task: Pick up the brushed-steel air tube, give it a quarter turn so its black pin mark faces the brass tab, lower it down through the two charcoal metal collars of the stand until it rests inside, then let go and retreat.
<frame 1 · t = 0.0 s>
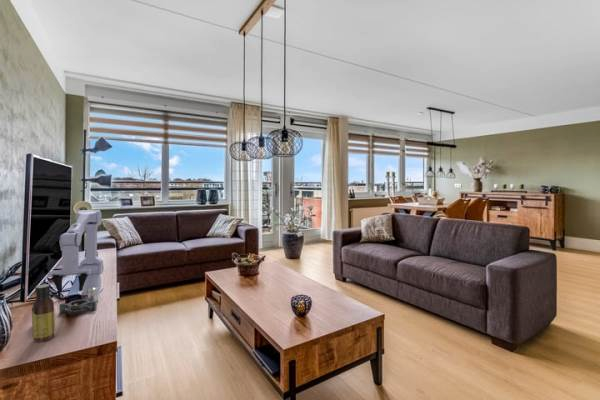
hand: (70, 291, 132), 10 cm above the tv stand, tool pointing down, fingers open, 7 cm apart
sauce bottle: (43, 339, 111), on the tv stand
air tube: (93, 302, 146), on the tv stand
collar stand: (78, 311, 136), on the tv stand
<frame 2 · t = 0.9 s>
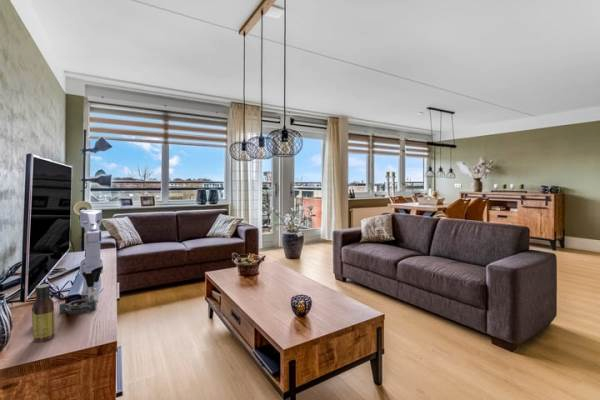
hand: (93, 284, 145), 9 cm above the tv stand, tool pointing down, fingers open, 7 cm apart
nothing on the tv stand moved.
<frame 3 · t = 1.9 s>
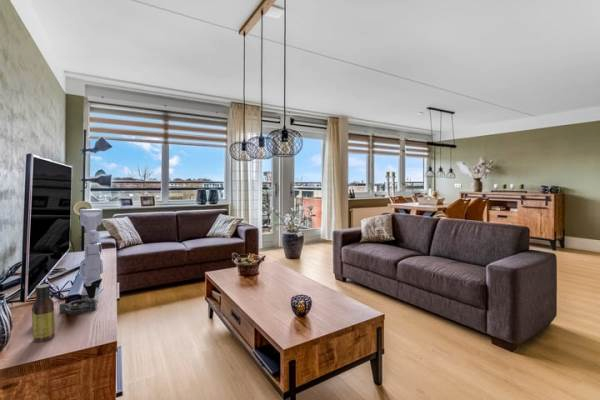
hand: (93, 296, 145), 3 cm above the tv stand, tool pointing down, fingers closed on air tube, 4 cm apart
air tube: (93, 302, 146), on the tv stand, touching gripper
everything else where it was.
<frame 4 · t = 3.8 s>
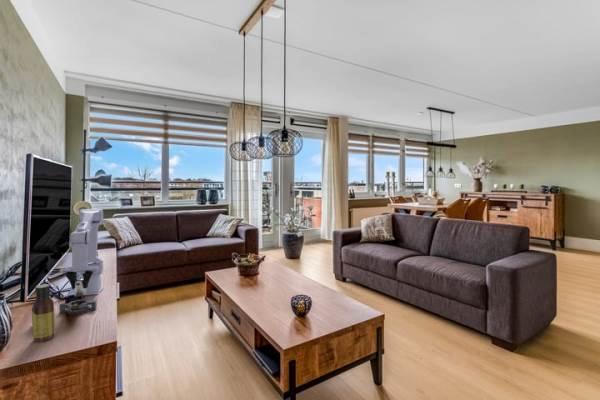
hand: (79, 288, 136), 10 cm above the tv stand, tool pointing down, fingers closed on air tube, 4 cm apart
air tube: (80, 294, 136), point 7 cm above the tv stand, touching gripper
everything else where it was.
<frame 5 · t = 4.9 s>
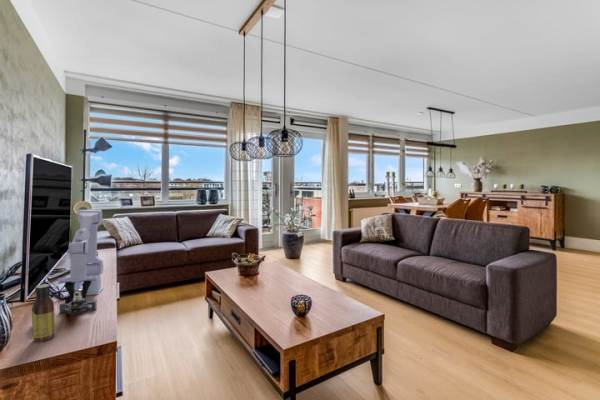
hand: (78, 298, 135), 6 cm above the tv stand, tool pointing down, fingers closed on air tube, 4 cm apart
air tube: (78, 305, 136), point 3 cm above the tv stand, touching gripper
everything else where it was.
when the fingers open (4 cm above the tv stand, at t = 5.7 s): air tube drops 1 cm, resting in collar stand.
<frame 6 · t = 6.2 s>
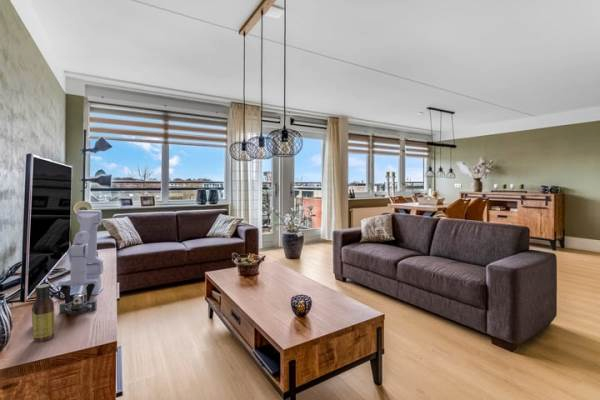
hand: (78, 301, 135), 4 cm above the tv stand, tool pointing down, fingers open, 7 cm apart
air tube: (78, 311, 136), resting in collar stand
everything else where it was.
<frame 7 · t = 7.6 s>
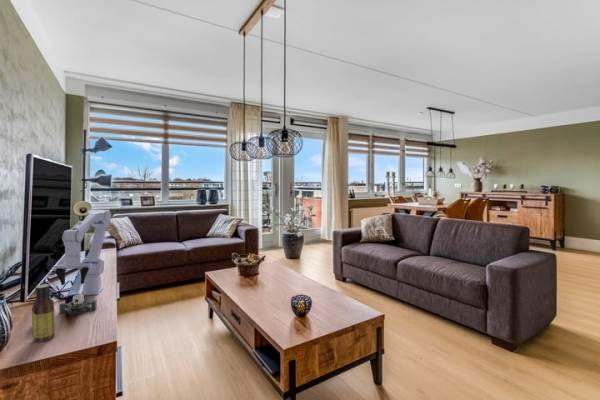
hand: (72, 283, 142), 10 cm above the tv stand, tool pointing down, fingers open, 7 cm apart
nothing on the tv stand moved.
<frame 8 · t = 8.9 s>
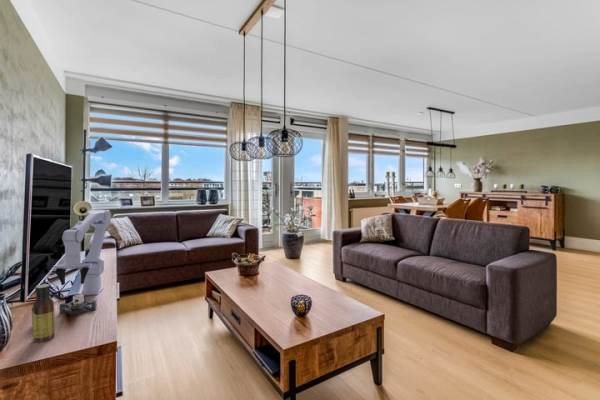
hand: (72, 283, 142), 10 cm above the tv stand, tool pointing down, fingers open, 7 cm apart
nothing on the tv stand moved.
at the end: air tube 0.0 cm off-centre on the collar stand, point 0.0 cm above the collar stand's base; air tube tilted 0°; the gripper is holding nothing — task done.
